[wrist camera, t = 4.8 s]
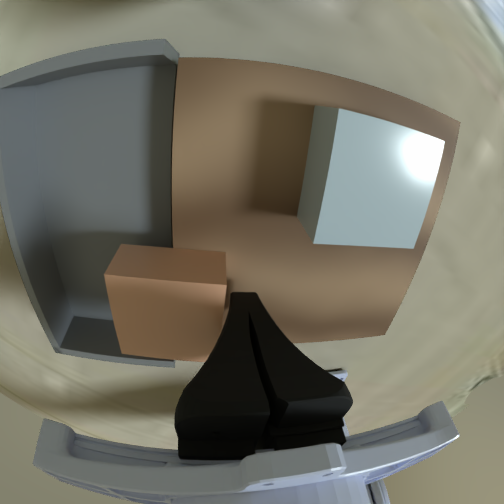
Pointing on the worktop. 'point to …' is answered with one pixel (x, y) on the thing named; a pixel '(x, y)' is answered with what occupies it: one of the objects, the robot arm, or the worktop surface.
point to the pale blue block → (366, 180)
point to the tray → (86, 181)
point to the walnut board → (286, 193)
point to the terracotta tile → (167, 301)
